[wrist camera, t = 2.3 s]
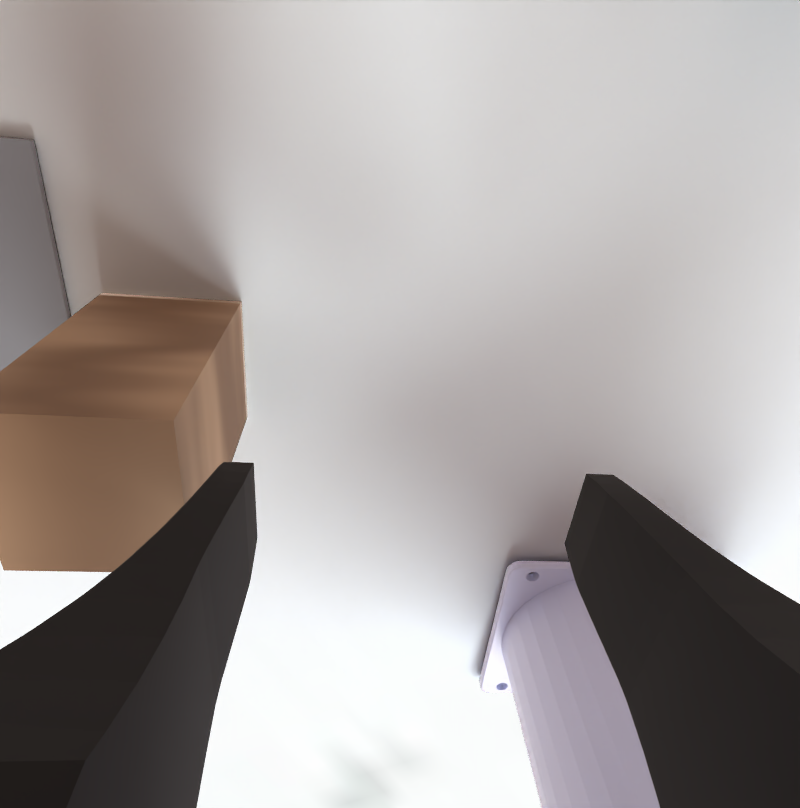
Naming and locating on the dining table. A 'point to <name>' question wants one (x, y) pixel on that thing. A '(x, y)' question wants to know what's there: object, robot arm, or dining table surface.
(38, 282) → the slate mat
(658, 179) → the dining table surface
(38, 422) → the walnut block
